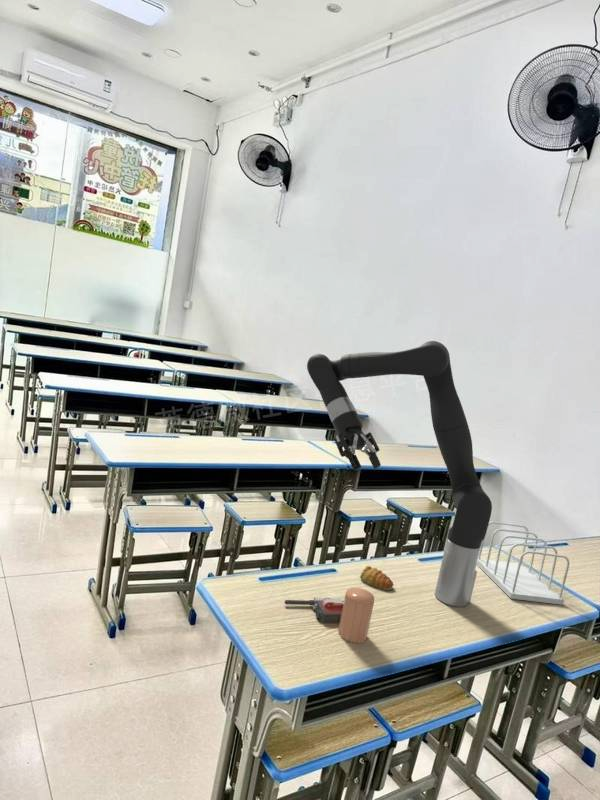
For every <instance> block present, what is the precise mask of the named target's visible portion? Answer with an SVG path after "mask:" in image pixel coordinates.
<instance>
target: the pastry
mask: <svg viewBox="0 0 600 800" xmlns="http://www.w3.org/2000/svg"><path fill="white" fill-rule="evenodd" d="M359 578H360V579H361V581H362V582H363V583H366V584H367V585H369V586H371V587H374V588H376V589H380V590H381V591H382V590H385V591H390V590H391V589H393V586H394V582H393V581H392V580H391V578H390V577H389V576H387V574H385V573H383V571H382V570H379V569H378V568H376V567H374V568H373V567H372V566H370V565H367V566H365V568H363V570H362V571H361V573H360V576H359Z"/></svg>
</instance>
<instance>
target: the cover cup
mask: <svg viewBox="0 0 600 800" xmlns="http://www.w3.org/2000/svg"><path fill="white" fill-rule="evenodd" d="M343 601H344V604H343V609H342V614H341V619H340V623H338V624H339V625H338V630H337V631H338V635H339V636H340V638H341V639H343V640H345V641H348V643H349V642H351V643H355V644H359V643H364V642H365V641H366V640H367V637H368V633H369V627H370V623H371V618H372V615H373V614H372V613H373V608H374V602H375V595H374V594H372V592H370V591H368V590H366V589H363V588H360V587H350V588H347V590H346V591H345V596H344V600H343Z"/></svg>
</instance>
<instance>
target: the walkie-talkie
mask: <svg viewBox="0 0 600 800" xmlns="http://www.w3.org/2000/svg"><path fill="white" fill-rule="evenodd" d="M284 604H285V605H300V606H301V605H304V606H306V605H308V606H312V611H314V612H315V618H316V619H319V620H320V623H323V624H340V619H341V614H342V609H343V604H344V600H341V599H340V598H336V597H335V598H330V597H316V596H315V597H313V599H308V600H302V599H301V600H300V599H299V600H298V599H296V600H295V599H286V600H284Z"/></svg>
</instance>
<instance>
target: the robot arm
mask: <svg viewBox="0 0 600 800" xmlns="http://www.w3.org/2000/svg"><path fill="white" fill-rule="evenodd" d="M450 359H451V358H450V353H449V350H448V348H447V347H446V346H445V345H444V344H443V343H441V342H439V341H438V340H437V341H436V340H430V341H426V342H425V343H423V344H421V345H419V346H418V347H413V348H409V349H406V350H399V351H391V352H386V351H385V352H384V351H383V352H381V351H380V352H379V351H377V352H376V351H371V352H370V351H369V352H368V351H367V352H358V353H349V354H343V355H342V356H341V357H340V359H336V360H331V359H330V358H329V357H327V356H326V355H324V354H322V353H315V354H313V355H311V356H310V357H309V359H308V360H307V365H306V370H307V371H308V374H309V376H310V379H311V380H312V382H313V383H314V386H315V387H316V389H317V390H318V392H319V394H320V397H321V399H322V401H323V403H324V406H325V408H326V411H327V413H328V416H329V419H330V421H331V423H332V425H333V428H334V430H335V432H336V434H337V435H336V436H335V437H333V440H334V442H335V445H336V447H337V449H338V453H339V455H340V457H345V458H346V459H348V462H349V463H350V466H351V468H352V469H353V471H358V470H360V469H361V468H362V465H361V462H360V460H359V458H358V456H357V455H356V450H357V451H360V452H361V453H364V454H366V455H367V456H368V460H369V461H370V463H371V465H372V467H373V469H378V468H380V467H381V465H382V464H381V462H380V460H379V457H378V455H377V453H378V452H379V451H380V447H379V445H378V444H377V442H376V440H375V438H374V436H373V434H372V433H371V431H370V432H367V433H366V434H365V433H364V432H363V430H362V428H363V422H362V420H361V418H360V416H359V414H358V411H357V410H356V407H355V405H354V404H353V402H352V401H351V399H350V397H349V395H348V393H347V391H346V389H345V387H344V385H343V383H342V382H341V381H344V380H347V379H361V378H362V379H363V378H371V377H379V376H380V377H381V376H390V375H411V376H421V377H423V379H424V382H425V385H426V387H427V390H428V395H429V403H430V404H429V405H430V407H429V408H430V416H431V417H430V418H431V423H432V427H433V431H434V435H435V438H436V441H437V445H438V449H439V450H440V451H439V452H440V454H441V457H442V459H443V462H444V464H445V466H446V469H447V471H448V475H449V482H450V486H451V494H452V499H453V506H454V507H455V509H456V510H455V514H454V517H453V518H454V519H453V523H452V525H451V527H450V528H449V529H448V532H447V536H446V541H445V545H444V549H443V553H442V560H441V562H440V563H441V564H440V568H439V573H438V577H437V582H436V585H435V590H434V596H435V597H436V598H437V599H438V600H439V601H440V602H442V603H444V604H447V605H449V606H452V607H457V608H459V607H460V608H462V607H466V606H467V605H468V604H469V603H471V601H472V595H473V591H474V587H475V582H476V578H477V573H478V571H477V570H476V568H477V560H478V557H479V552H480V548H481V543H482V541H483V539H484V538H486V534H487V531H488V528H489V526H488V524H489V522H491V521H490V519H491V515H492V510H493V504H492V501H491V499H490V497H489V496H488V494H487V493H486V492H485V491H484V489H483V487H482V485H481V483H480V480H479V478H478V474H477V472H476V469H475V465H474V455H473V454H474V452H473V440H472V435H471V432H470V428H469V424H468V423H469V422H468V421H467V418H466V414H465V412H464V408H463V405H462V403H461V400H460V398H459V395H458V392H457V390H456V386H455V382H454V379H453V378H454V376H453V371H452V365H451V360H450ZM484 540H485V539H484Z"/></svg>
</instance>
